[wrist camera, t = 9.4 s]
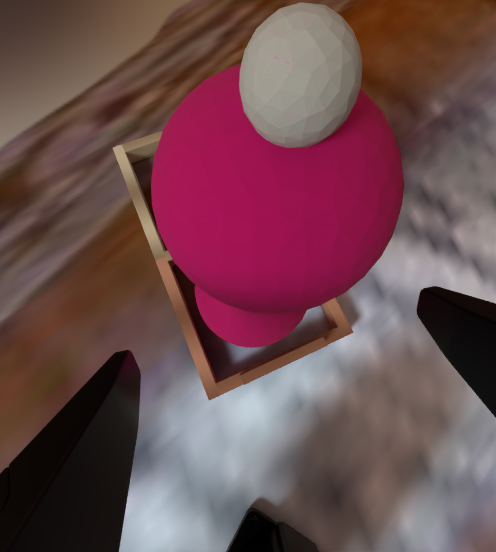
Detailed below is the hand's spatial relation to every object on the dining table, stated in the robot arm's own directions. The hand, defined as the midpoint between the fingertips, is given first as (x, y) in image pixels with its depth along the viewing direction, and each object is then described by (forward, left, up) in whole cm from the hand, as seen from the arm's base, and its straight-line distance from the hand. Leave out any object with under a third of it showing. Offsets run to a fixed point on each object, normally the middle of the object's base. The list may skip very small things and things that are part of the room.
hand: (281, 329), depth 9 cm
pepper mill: (+2, +2, -14) cm, 14 cm away
